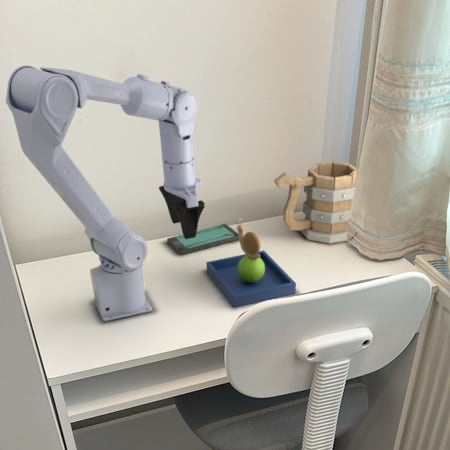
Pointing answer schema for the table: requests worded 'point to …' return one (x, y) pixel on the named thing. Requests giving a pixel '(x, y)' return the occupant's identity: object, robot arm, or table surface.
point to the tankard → (321, 201)
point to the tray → (244, 291)
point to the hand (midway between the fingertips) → (183, 229)
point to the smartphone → (203, 239)
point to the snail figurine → (250, 256)
